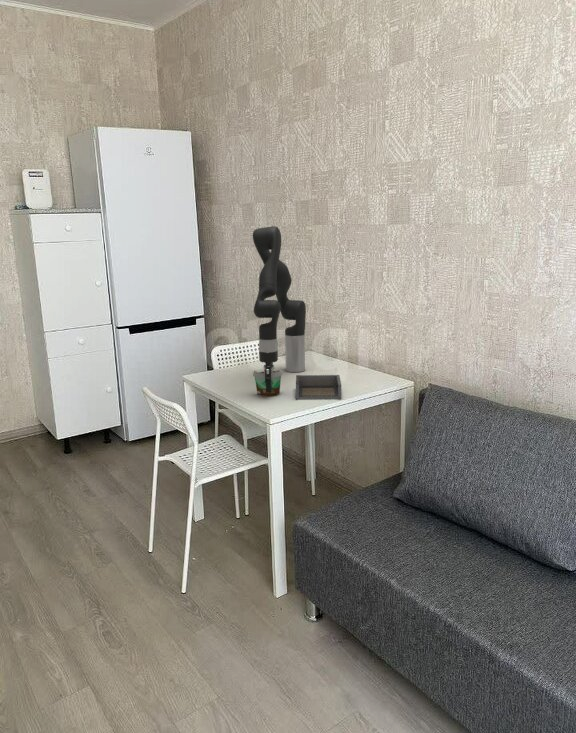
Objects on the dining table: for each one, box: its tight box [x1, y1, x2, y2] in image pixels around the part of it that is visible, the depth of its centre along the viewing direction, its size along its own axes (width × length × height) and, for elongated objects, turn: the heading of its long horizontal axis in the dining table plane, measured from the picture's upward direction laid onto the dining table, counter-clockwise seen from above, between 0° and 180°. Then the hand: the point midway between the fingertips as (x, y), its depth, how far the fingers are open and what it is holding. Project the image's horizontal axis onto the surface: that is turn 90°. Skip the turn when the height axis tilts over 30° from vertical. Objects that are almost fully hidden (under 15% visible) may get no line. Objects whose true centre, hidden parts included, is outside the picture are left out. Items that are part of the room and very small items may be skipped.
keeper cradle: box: [295, 374, 342, 401], centre depth 245 cm, size 15×18×6 cm
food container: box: [252, 369, 284, 397], centre depth 244 cm, size 12×6×10 cm, turn 104°
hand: (269, 389), depth 246 cm, fingers closed on food container, 5 cm apart
